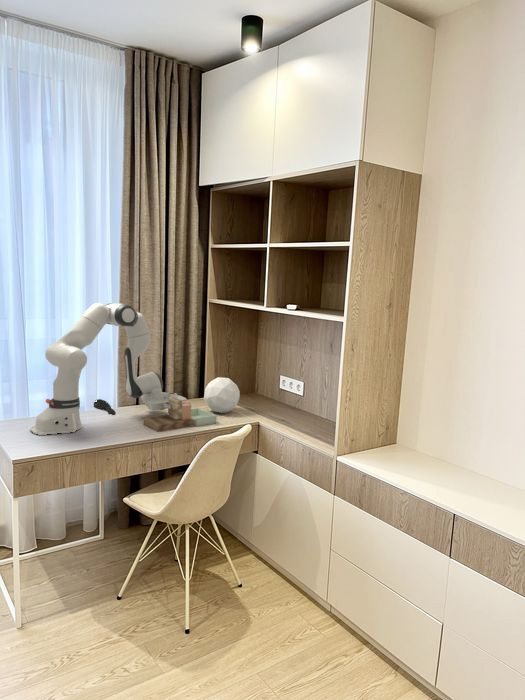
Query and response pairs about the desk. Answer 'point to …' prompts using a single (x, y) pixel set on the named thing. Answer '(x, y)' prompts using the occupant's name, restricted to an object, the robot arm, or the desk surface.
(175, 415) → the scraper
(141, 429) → the desk surface
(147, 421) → the board
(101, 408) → the hairbrush
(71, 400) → the robot arm
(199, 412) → the tray
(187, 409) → the pink building block
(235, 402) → the geometric polyhedron
